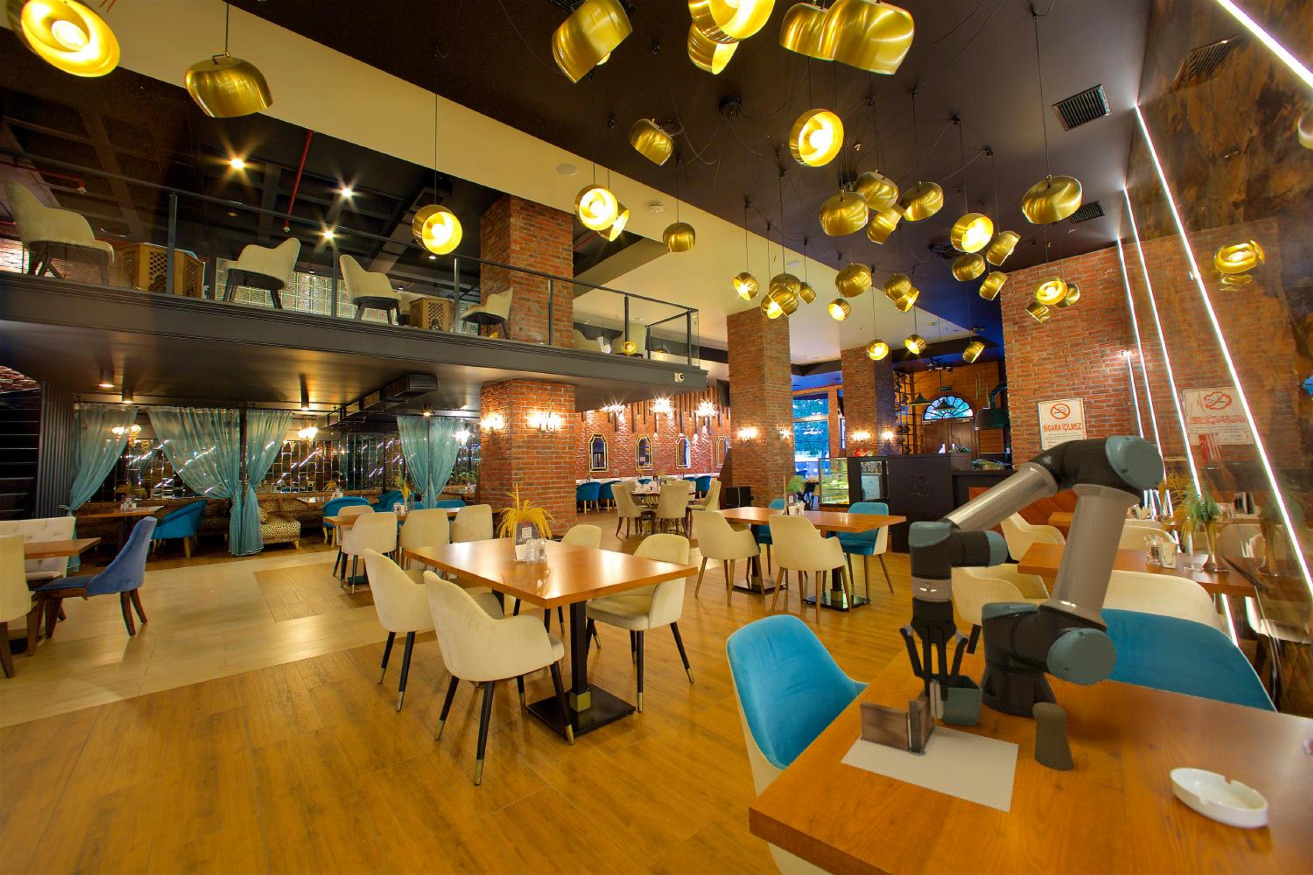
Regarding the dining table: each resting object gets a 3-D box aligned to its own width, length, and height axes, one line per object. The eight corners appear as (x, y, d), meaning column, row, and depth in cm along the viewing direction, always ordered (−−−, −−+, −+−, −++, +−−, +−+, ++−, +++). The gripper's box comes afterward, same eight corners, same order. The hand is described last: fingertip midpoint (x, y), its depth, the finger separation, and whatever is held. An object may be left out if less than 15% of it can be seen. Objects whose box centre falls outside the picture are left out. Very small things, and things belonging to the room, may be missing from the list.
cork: (1067, 761, 97) (1062, 700, 98) (1081, 779, 92) (1075, 713, 93) (1029, 757, 99) (1024, 696, 100) (1040, 773, 94) (1035, 709, 95)
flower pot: (987, 734, 108) (983, 689, 109) (940, 731, 110) (937, 686, 111) (970, 716, 117) (967, 674, 118) (928, 713, 119) (925, 672, 120)
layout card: (1019, 749, 102) (1018, 744, 102) (1009, 819, 81) (1009, 811, 81) (878, 716, 118) (878, 711, 118) (840, 767, 97) (840, 761, 97)
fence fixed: (921, 750, 100) (918, 701, 101) (919, 754, 99) (916, 704, 100) (864, 735, 107) (862, 689, 108) (861, 739, 105) (859, 692, 106)
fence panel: (922, 747, 101) (920, 710, 101) (912, 745, 102) (910, 708, 102) (934, 723, 111) (932, 690, 111) (925, 721, 112) (923, 688, 112)
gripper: (893, 596, 110) (897, 712, 108) (966, 605, 102) (972, 731, 100) (901, 590, 116) (906, 700, 114) (971, 598, 108) (977, 717, 106)
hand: (937, 714), depth 107 cm, fingers closed
